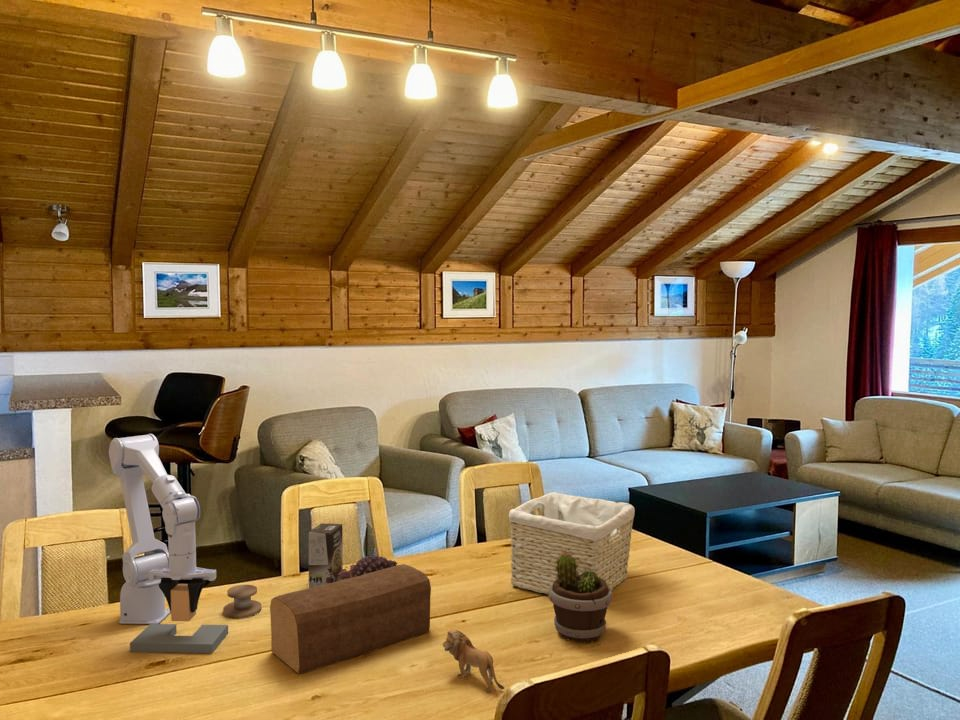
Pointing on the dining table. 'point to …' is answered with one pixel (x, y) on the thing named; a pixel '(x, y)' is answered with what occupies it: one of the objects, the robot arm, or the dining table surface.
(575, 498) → the basket
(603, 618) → the flowerpot
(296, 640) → the bread
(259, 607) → the spool post
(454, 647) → the lion figurine
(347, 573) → the purple lumpy cluster
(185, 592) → the copper block
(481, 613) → the dining table surface
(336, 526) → the coffee box
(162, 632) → the notched board
